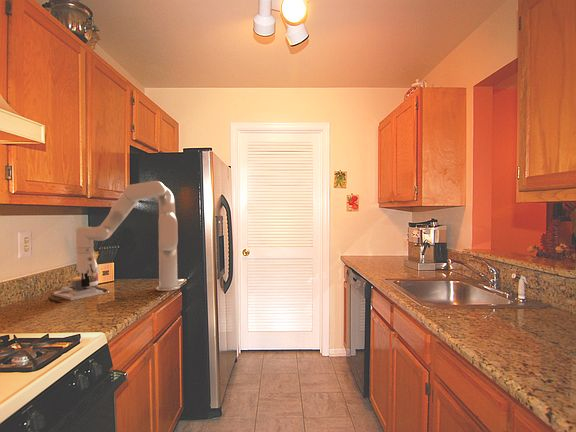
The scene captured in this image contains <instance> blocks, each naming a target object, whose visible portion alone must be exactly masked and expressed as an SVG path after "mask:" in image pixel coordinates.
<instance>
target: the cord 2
mask: <svg viewBox="0 0 576 432" xmlns="http://www.w3.org/2000/svg"><path fill="white" fill-rule="evenodd" d="M93 287H94V288H96V289H97V290H101V291H103V293H104V292H107V291H108V289H106V288H104V287H103V288H102V287H101V286H100V287H99V286H97V285H96V286H93Z"/></svg>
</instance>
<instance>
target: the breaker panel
mask: <svg viewBox="0 0 576 432" xmlns="http://www.w3.org/2000/svg"><path fill="white" fill-rule="evenodd" d="M94 287H95V286H92V287H90V286H87V287H84V290H76V289H72V285H67V286H61V287H60V290H58V291H53V296H56V297H58V298H63V299H65V300H67V301H75V300H81V299H85V298H91V297H95V296H98V295H103V294H104V292H103V291H101V290H97V289H96V288H94Z"/></svg>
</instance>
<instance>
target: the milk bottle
mask: <svg viewBox="0 0 576 432" xmlns="http://www.w3.org/2000/svg"><path fill="white" fill-rule="evenodd" d="M93 254H94V255H95V252H94V253H93ZM94 260H95V272H91V273H92V275H91V276H90V287H95V286H96V287H97V286H99V285H98V284H99V270H98V269H99V268H98V263H97V260H96V258H95V257H94Z"/></svg>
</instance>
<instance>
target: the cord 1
mask: <svg viewBox="0 0 576 432" xmlns="http://www.w3.org/2000/svg"><path fill="white" fill-rule="evenodd" d="M48 300H51V301H54V302H56V303H59V304H61V303H62V302H63V301H62V299H58V298H56V297H52V296H49V297H48Z"/></svg>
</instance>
